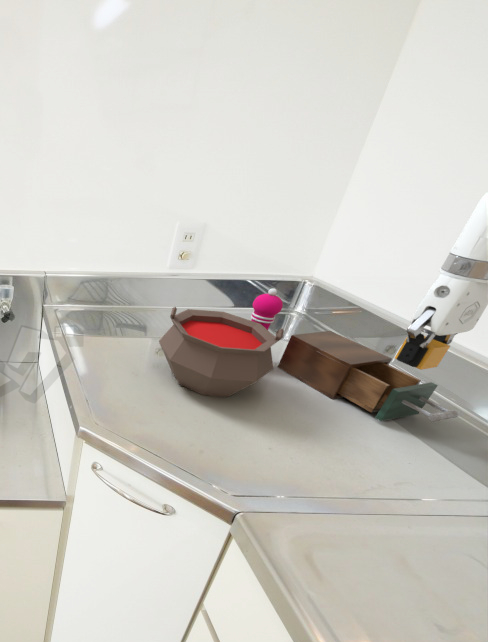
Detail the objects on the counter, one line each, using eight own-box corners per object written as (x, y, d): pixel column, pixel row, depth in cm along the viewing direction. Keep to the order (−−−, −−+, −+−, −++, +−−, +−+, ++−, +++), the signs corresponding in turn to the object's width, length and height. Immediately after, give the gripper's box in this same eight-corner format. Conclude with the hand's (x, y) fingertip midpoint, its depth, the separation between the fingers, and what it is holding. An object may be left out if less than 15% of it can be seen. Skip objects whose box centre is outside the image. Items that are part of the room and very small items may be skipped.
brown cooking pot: (259, 371, 105) (284, 310, 97) (264, 423, 86) (297, 353, 78) (158, 347, 114) (174, 289, 106) (143, 389, 95) (161, 323, 87)
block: (409, 355, 83) (422, 335, 81) (436, 367, 79) (450, 345, 77) (394, 358, 81) (406, 337, 79) (420, 369, 78) (434, 348, 76)
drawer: (453, 432, 85) (475, 402, 81) (414, 440, 82) (435, 410, 78) (355, 380, 101) (370, 354, 97) (319, 386, 98) (333, 358, 94)
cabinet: (372, 392, 98) (392, 358, 94) (332, 399, 95) (351, 364, 91) (314, 361, 110) (330, 330, 106) (277, 367, 107) (291, 334, 103)
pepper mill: (233, 367, 106) (262, 291, 96) (226, 354, 112) (252, 281, 102) (264, 371, 105) (297, 295, 95) (255, 358, 111) (285, 285, 101)
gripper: (469, 278, 66) (407, 377, 75) (534, 272, 70) (468, 366, 79) (414, 264, 72) (363, 357, 81) (477, 259, 77) (422, 348, 86)
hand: (416, 360), depth 80 cm, fingers closed on block, 4 cm apart
